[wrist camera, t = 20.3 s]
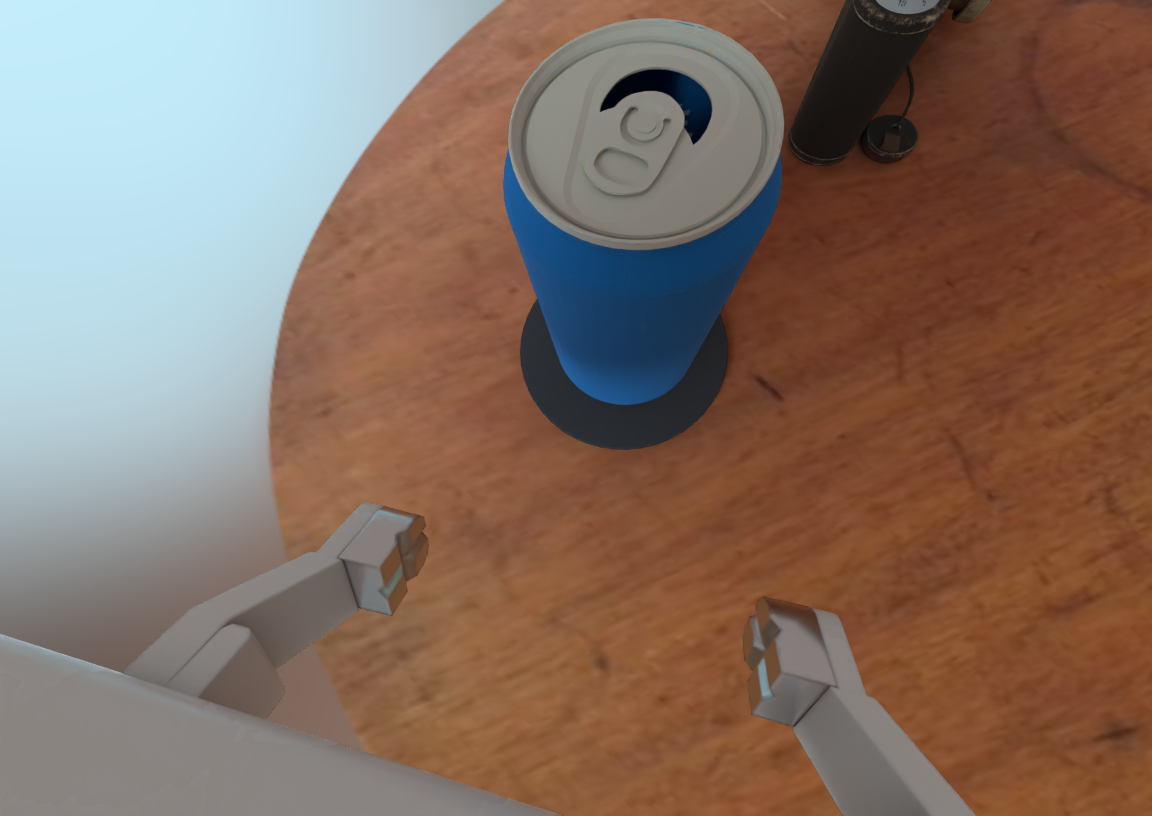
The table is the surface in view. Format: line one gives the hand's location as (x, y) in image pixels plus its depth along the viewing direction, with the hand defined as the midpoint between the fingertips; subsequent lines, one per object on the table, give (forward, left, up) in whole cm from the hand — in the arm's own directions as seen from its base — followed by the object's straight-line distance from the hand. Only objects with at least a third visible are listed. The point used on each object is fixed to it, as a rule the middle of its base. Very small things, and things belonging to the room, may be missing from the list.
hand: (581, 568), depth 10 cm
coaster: (+8, -4, -9) cm, 13 cm away
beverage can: (+8, -4, -9) cm, 13 cm away
